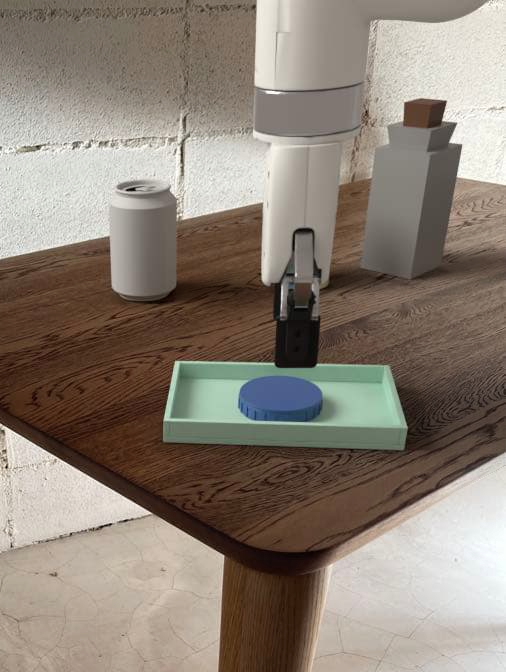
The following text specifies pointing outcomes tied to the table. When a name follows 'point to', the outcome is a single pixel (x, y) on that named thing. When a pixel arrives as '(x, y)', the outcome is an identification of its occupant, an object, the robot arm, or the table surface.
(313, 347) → the robot arm
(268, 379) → the jar lid
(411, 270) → the perfume bottle
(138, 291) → the can
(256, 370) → the tray
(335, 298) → the table surface
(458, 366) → the table surface
